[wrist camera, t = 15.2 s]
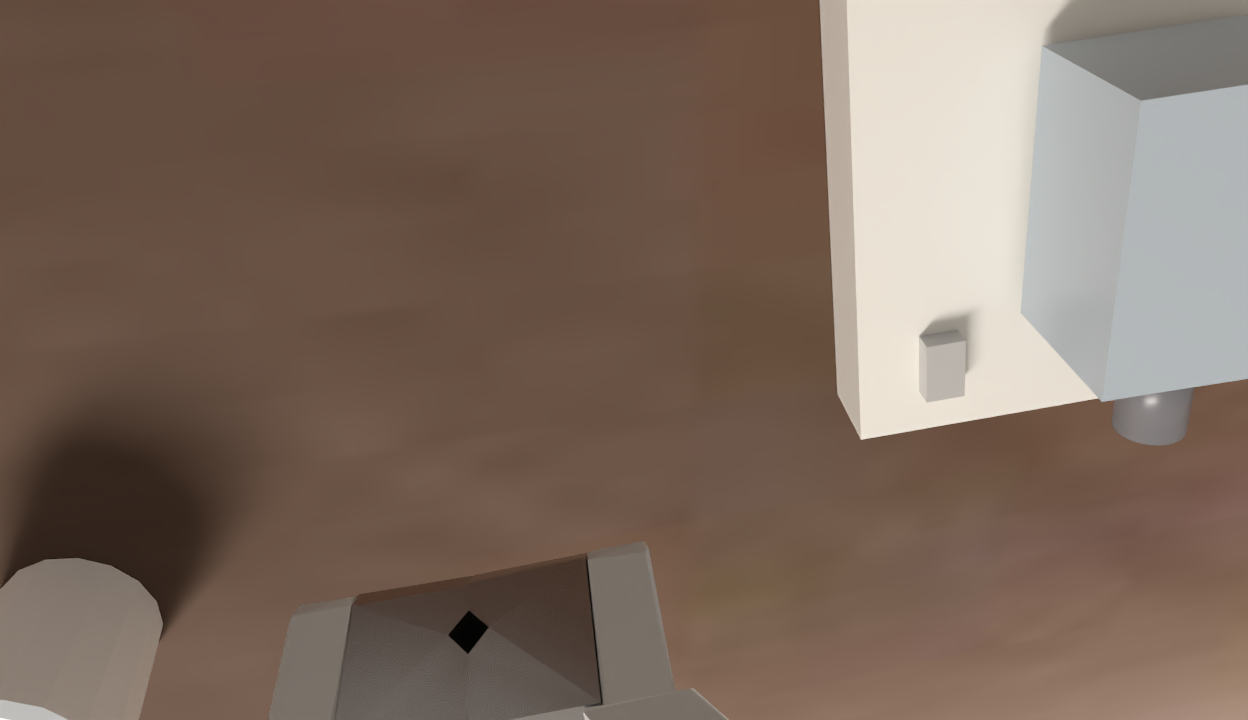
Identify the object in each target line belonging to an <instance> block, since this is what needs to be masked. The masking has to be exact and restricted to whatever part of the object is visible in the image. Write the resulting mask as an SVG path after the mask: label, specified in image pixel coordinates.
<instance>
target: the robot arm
mask: <svg viewBox="0 0 1248 720" xmlns="http://www.w3.org/2000/svg"><path fill="white" fill-rule="evenodd" d="M268 720H729V719H728V718H727V717H725V716H724V715H723V714H722V713H721V712H720V711H719V710H717V709H716V708H715V707H714V706H713V705H712V704H711V703H710V702H708V701H707V700H706V699H705V698H704V697H703V696H702V695H700V694H699V693H698V692H697V691H696V690H695V689H694V688H693V689H686V690H680V691H675V688H674V682H673V677H672V672H671V666H670V661H669V656H668V650H667V645H666V640H665V634H664V629H663V624H662V618H661V613H660V608H659V602H658V597H657V592H656V586H655V581H654V576H653V570H652V565H651V560H650V555H649V549H648V547H647V545H646V543H645V542H644V541H640V542H635V543H630V544H625V545H620V546H615V547H610V548H605V549H601V550H596V551H591V552H588V555H587V553H584V554H579V555H574V556H569V557H564V558H559V559H554V560H549V561H544V562H539V563H534V564H529V565H523V566H518V567H513V568H508V569H503V570H498V571H493V572H488V573H483V574H478V575H474V576H469V577H463V578H456V579H450V580H444V581H438V582H432V583H426V584H420V585H414V586H408V587H402V588H396V589H389V590H383V591H377V592H371V593H365V594H359V595H358V596H357V597H350V598H343V599H337V600H330V601H324V602H318V603H311V604H305V605H300V606H299V607H298V609H297V610H296V612H295V613H294V615H293V616H292V618H291V619H290V621H289V626H288V631H287V635H286V640H285V644H284V649H283V653H282V658H281V663H280V667H279V672H278V676H277V681H276V685H275V690H274V694H273V699H272V704H271V708H270V713H269V717H268Z"/></svg>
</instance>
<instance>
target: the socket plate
mask: <svg viewBox="0 0 1248 720" xmlns="http://www.w3.org/2000/svg"><path fill="white" fill-rule="evenodd" d="M1243 15H1248V0H820V21H821V43H822V65H823V87H824V109H825V131H826V153H827V175H828V197H829V219H830V241H831V263H832V286H833V308H834V330H835V352H836V374H837V394H838V396H839V398H840V400H841V402H842V404H843V406H844V408H845V410H846V412H847V413H848V415H849V417H850V419H851V421H852V423H853V425H854V427H855V429H856V431H857V433H858V435H859V437H860V439H861V440H862V439H868V438H873V437H879V436H885V435H890V434H896V433H902V432H908V431H913V430H919V429H925V428H931V427H936V426H942V425H948V424H953V423H959V422H965V421H971V420H976V419H982V418H988V417H994V416H999V415H1005V414H1011V413H1016V412H1022V411H1028V410H1034V409H1039V408H1045V407H1051V406H1057V405H1062V404H1068V403H1074V402H1079V401H1085V400H1091V399H1097V398H1098V397H1097V396H1096V395H1095V394H1094V393H1093V392H1092V391H1091V389H1090V388H1089V387H1088V386H1087V385H1086V384H1085V383H1084V382H1083V381H1082V380H1081V378H1080V377H1079V376H1078V375H1077V374H1076V373H1075V372H1074V371H1073V370H1072V369H1071V368H1070V366H1069V365H1068V364H1067V363H1066V362H1065V361H1064V360H1063V359H1062V358H1061V357H1060V356H1059V354H1058V353H1057V352H1056V351H1055V350H1054V349H1053V348H1052V347H1051V346H1050V345H1049V343H1048V342H1047V341H1046V340H1045V339H1044V338H1043V337H1042V336H1041V335H1040V334H1039V333H1038V331H1037V330H1036V329H1035V328H1034V327H1033V326H1032V325H1031V324H1030V323H1029V322H1028V320H1027V319H1026V318H1025V317H1024V316H1023V315H1022V314H1021V303H1022V290H1023V278H1024V265H1025V253H1026V240H1027V227H1028V215H1029V202H1030V190H1031V177H1032V165H1033V152H1034V139H1035V127H1036V114H1037V102H1038V89H1039V77H1040V64H1041V52H1042V46H1044V45H1051V44H1058V43H1064V42H1071V41H1077V40H1084V39H1091V38H1097V37H1104V36H1111V35H1117V34H1124V33H1130V32H1137V31H1144V30H1150V29H1157V28H1163V27H1170V26H1177V25H1183V24H1190V23H1196V22H1203V21H1210V20H1216V19H1223V18H1230V17H1236V16H1243Z"/></svg>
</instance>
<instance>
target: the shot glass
mask: <svg viewBox="0 0 1248 720" xmlns="http://www.w3.org/2000/svg"><path fill="white" fill-rule="evenodd" d="M162 627H163V622H162V618H161V614H160V611H159V607H158V604H157V601H156V600H155V599H154V598H153V597H152V596H151V594H150V593H149V592H148V591H147V590H146V589H145V588H144V586H143V585H142V584H141V583H140V582H139V581H138V580H136V579H134V578H132V577H131V576H129V575H127V574H125V573H123V572H122V571H120V570H118V569H116V568H115V567H113V566H111V565H106V564H102V563H98V562H94V561H89V560H85V559H81V558H67V559H48V560H43V561H41V562H38V563H36V564H33V565H31V566H28V567H26V568H23V569H21V570H18V571H17V572H16V573H15V574H14V575H13V576H12V577H11V579H10V580H9V581H8V582H7V583H6V584H5V585H4V586H3V587H2V588H1V589H0V720H139V716H140V713H141V709H142V705H143V701H144V697H145V693H146V689H147V685H148V681H149V678H150V674H151V670H152V666H153V662H154V658H155V654H156V650H157V646H158V643H159V639H160V635H161V631H162Z"/></svg>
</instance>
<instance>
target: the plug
mask: <svg viewBox="0 0 1248 720" xmlns="http://www.w3.org/2000/svg"><path fill="white" fill-rule="evenodd" d="M1021 314H1022V315H1023V316H1024V317H1025V318H1026V319H1027V320H1028V322H1029V323H1030V324H1031V325H1032V326H1033V327H1034V328H1035V329H1036V330H1037V331H1038V333H1039V334H1040V335H1041V336H1042V337H1043V338H1044V339H1045V340H1046V341H1047V342H1048V343H1049V345H1050V346H1051V347H1052V348H1053V349H1054V350H1055V351H1056V352H1057V353H1058V354H1059V356H1060V357H1061V358H1062V359H1063V360H1064V361H1065V362H1066V363H1067V364H1068V365H1069V366H1070V368H1071V369H1072V370H1073V371H1074V372H1075V373H1076V374H1077V375H1078V376H1079V377H1080V378H1081V380H1082V381H1083V382H1084V383H1085V384H1086V385H1087V386H1088V387H1089V388H1090V389H1091V391H1092V392H1093V393H1094V394H1095V395H1096V396H1097V397H1098V398H1099V399H1100V400H1101V401H1102V402H1104V401H1110V400H1114V408H1113V415H1112V426H1113V428H1114V429H1115V430H1116V431H1117V432H1118V433H1119V434H1120V435H1121V436H1123V437H1125V438H1127V439H1129V440H1131V441H1134V442H1137V443H1141V444H1147V445H1167V444H1172V443H1175V442H1178V441H1179V440H1181V439H1182V438H1183V437H1184V436H1185V435H1186V433H1187V427H1188V422H1189V416H1190V411H1191V405H1192V400H1193V394H1194V389H1195V387H1198V386H1204V385H1211V384H1217V383H1223V382H1230V381H1236V380H1242V379H1248V15H1243V16H1236V17H1230V18H1223V19H1216V20H1210V21H1203V22H1196V23H1190V24H1183V25H1177V26H1170V27H1163V28H1157V29H1150V30H1144V31H1137V32H1130V33H1124V34H1117V35H1111V36H1104V37H1097V38H1091V39H1084V40H1077V41H1071V42H1064V43H1058V44H1051V45H1044V46H1042V52H1041V64H1040V77H1039V89H1038V102H1037V114H1036V127H1035V139H1034V152H1033V165H1032V177H1031V190H1030V202H1029V215H1028V227H1027V240H1026V253H1025V265H1024V278H1023V290H1022V303H1021Z"/></svg>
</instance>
